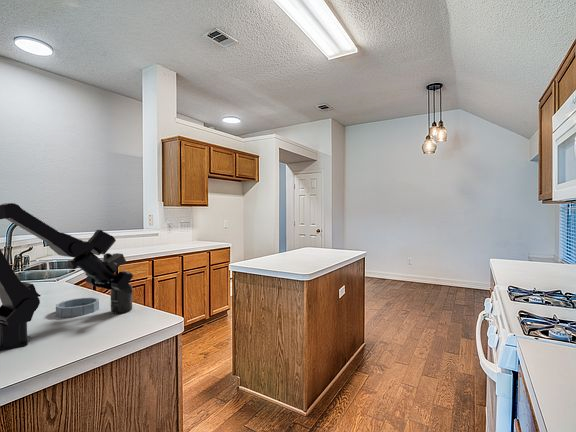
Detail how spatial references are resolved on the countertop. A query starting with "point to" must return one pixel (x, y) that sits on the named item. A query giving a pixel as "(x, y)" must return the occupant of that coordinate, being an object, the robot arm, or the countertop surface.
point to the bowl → (77, 307)
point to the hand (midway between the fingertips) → (125, 291)
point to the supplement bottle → (120, 301)
